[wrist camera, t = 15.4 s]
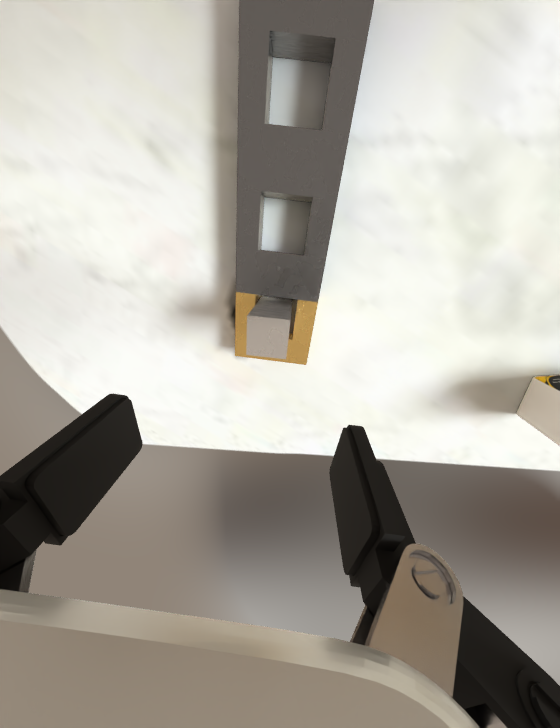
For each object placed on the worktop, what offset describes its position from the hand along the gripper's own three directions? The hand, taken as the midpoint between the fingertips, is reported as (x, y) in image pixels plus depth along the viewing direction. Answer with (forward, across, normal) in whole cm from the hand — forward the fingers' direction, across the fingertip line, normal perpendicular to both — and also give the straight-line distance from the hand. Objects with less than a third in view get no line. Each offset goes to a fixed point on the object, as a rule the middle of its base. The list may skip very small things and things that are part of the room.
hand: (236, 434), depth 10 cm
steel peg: (+22, 0, 0) cm, 22 cm away
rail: (+22, 0, -10) cm, 24 cm away
